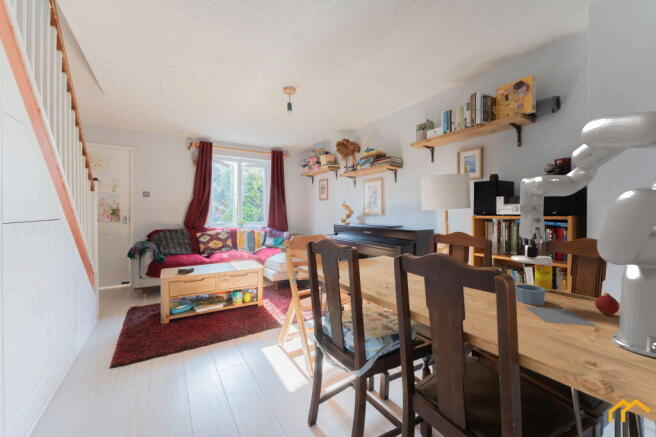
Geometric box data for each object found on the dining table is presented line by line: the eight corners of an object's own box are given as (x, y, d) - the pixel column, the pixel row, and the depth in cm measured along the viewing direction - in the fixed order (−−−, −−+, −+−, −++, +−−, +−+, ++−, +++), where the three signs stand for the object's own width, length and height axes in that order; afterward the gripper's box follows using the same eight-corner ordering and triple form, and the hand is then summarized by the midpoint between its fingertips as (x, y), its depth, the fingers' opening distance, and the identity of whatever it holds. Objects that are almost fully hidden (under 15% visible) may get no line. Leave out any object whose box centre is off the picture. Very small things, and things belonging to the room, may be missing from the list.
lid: (555, 264, 103) (556, 248, 103) (519, 263, 106) (520, 247, 106) (538, 258, 115) (538, 244, 115) (506, 257, 118) (506, 243, 117)
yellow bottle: (531, 288, 129) (532, 256, 128) (540, 287, 130) (541, 255, 130) (544, 292, 123) (546, 258, 122) (554, 291, 125) (555, 257, 124)
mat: (596, 327, 87) (596, 325, 87) (545, 323, 90) (545, 321, 90) (566, 309, 102) (566, 308, 102) (523, 306, 105) (523, 305, 105)
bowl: (550, 306, 105) (550, 292, 105) (520, 304, 107) (520, 290, 107) (536, 298, 115) (536, 284, 115) (509, 296, 117) (509, 283, 117)
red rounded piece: (608, 312, 99) (609, 290, 99) (623, 319, 93) (625, 295, 93) (590, 312, 99) (591, 290, 99) (604, 318, 94) (605, 295, 93)
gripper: (554, 210, 101) (552, 260, 102) (531, 209, 117) (530, 253, 118) (530, 209, 102) (529, 259, 103) (511, 209, 118) (510, 252, 119)
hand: (529, 256), depth 110 cm, fingers closed on lid, 3 cm apart
